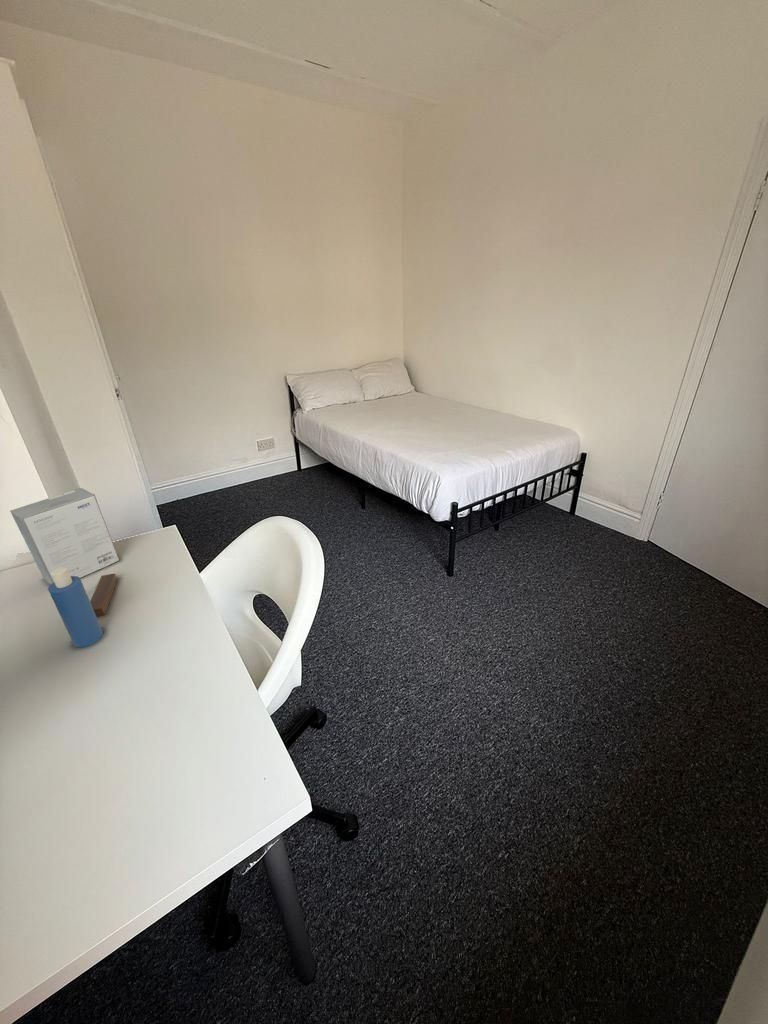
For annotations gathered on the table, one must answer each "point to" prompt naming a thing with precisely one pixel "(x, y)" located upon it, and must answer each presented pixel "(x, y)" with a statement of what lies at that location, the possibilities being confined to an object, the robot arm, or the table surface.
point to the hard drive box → (66, 534)
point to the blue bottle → (74, 608)
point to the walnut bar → (103, 594)
